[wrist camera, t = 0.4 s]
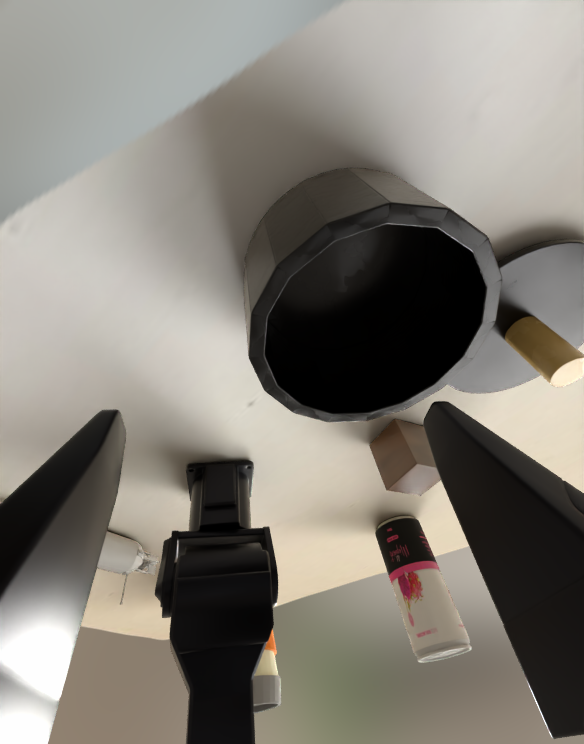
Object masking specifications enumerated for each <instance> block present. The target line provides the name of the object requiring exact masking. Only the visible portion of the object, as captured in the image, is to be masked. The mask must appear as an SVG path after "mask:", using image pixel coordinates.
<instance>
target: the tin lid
mask: <svg viewBox="0 0 584 744" xmlns="http://www.w3.org/2000/svg"><path fill="white" fill-rule="evenodd" d="M498 266H499V269H500V271H501V274H502V277H503V278H502V286H501V292H500V298H499V304H498V310H497V316H496V320H495V323H494V325H493V327H492V328H491V330H490V332H489V333H488V335H487V337H486V338H485V340H484V342H483V343H482V345H481V347H480V348H479V350H478V352H477V354H476V355H475V357H474V358H473V360H472V361H471V362H470V363H469V364H468V365H467V366H465V367H464V368H463V369H462V370H461V371H460V372H459V373H458V374H457V375H456V376H455V377H454V378H453V379H452V380H451V381H450V382H448V383H447V384H448V385H449V386H450V387H452V388H454V389H456V390H459V391H463V392H468V393H491V392H497V391H502V390H506V389H509V388H512V387H515V386H518V385H521V384H523V383H526V382H528V381H530V380H532V379H534V378H536V377H538V376H540V375H542V376H543V377H544V378H545V379H546V380H547V381H548V382H549V383H550V384H551V385H552V386H554V387H563V386H567V385H570V384H572V383H574V382H576V381H577V380H579V379H580V378H582V377H583V376H584V354H582V353H581V352H580V351H579V350H577V349H578V348H579V347H580V346H581V345H582V344H583V343H584V241H581V240H576V239H560V240H553V241H547V242H543V243H539V244H535V245H533V246H530V247H527V248H525V249H522V250H520V251H518V252H516V253H514V254H512V255H510V256H508V257H506V258H504V259H503V260H501V261H499V262H498Z"/></svg>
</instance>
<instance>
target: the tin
mask: <svg viewBox="0 0 584 744" xmlns="http://www.w3.org/2000/svg"><path fill="white" fill-rule="evenodd" d="M502 278H503V277H502V274H501V271H500V269H499V266H498V263H497V260H496V257H495V254H494V252H493V249H492V246H491V243H490V240H489V238H488V237H487V235H485V234H484V233H483V232H481V231H480V230H479V229H477V228H476V227H475V226H473V225H472V224H470V223H469V222H468V221H466V220H465V219H464V218H462V217H461V216H460V215H458V214H457V213H455V212H454V211H453V210H451V209H450V208H448V207H447V206H445V205H443V204H442V203H440V202H438V201H437V200H435V199H433V198H432V197H430V196H428V195H427V194H425V193H423V192H422V191H420V190H418V189H417V188H415V187H413V186H412V185H410V184H408V183H407V182H405V181H403V180H402V179H400V178H398V177H397V176H395V175H393V174H391V173H387V172H381V171H376V170H371V169H366V168H344V169H336V170H332V171H329V172H325V173H321V174H319V175H316V176H314V177H312V178H309V179H307V180H305V181H304V182H302V183H300V184H299V185H297V186H295V187H294V188H292V189H291V190H290V191H288V192H287V193H286V194H285V195H283V196H282V197H281V198H280V199H279V200H278V201H277V202H276V203H275V204H274V205H273V206H272V207H271V208H270V209H269V211H268V212H267V213H266V215H265V216H264V217H263V219H262V220H261V221H260V223H259V225H258V227H257V229H256V231H255V232H254V234H253V237H252V239H251V242H250V244H249V247H248V251H247V253H246V257H245V268H244V304H245V317H246V330H247V343H248V356H249V359H250V362H251V364H252V366H253V368H254V370H255V372H256V374H257V376H258V378H259V380H260V382H261V384H262V387H263V389H264V390H265V391H266V392H267V393H268V394H269V395H271V396H272V397H273V398H275V399H276V400H277V401H279V402H280V403H281V404H283V405H284V406H285V407H286V408H288V409H289V410H290V411H292V412H293V413H296V414H300V415H303V416H307V417H310V418H314V419H318V420H321V421H325V422H351V421H368V420H371V419H375V418H378V417H382V416H385V415H389V414H392V413H395V412H399V411H402V410H404V409H407V408H409V407H410V406H412V405H414V404H416V403H417V402H419V401H421V400H423V399H425V398H426V397H428V396H430V395H432V394H433V393H435V392H437V391H439V390H440V389H442V388H443V387H444V386H445V385H446V384H447V383H448V382H450V381H451V380H452V379H453V378H454V377H455V376H456V375H457V374H458V373H459V372H460V371H461V370H462V369H463V368H464V367H465V366H467V365H468V364H469V363H470V362H471V361H472V360H473V358H474V357H475V355H476V354H477V352H478V350H479V348H480V347H481V345H482V343H483V342H484V340H485V338H486V337H487V335H488V333H489V332H490V330H491V328H492V327H493V325H494V323H495V320H496V316H497V310H498V304H499V298H500V292H501V286H502Z"/></svg>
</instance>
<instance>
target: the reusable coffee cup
mask: <svg viewBox="0 0 584 744" xmlns="http://www.w3.org/2000/svg"><path fill="white" fill-rule="evenodd" d="M276 653H277V651H276V646H275V640H274V635H273V630H272V632H271V635H270V638H269V640H268V642H267V644H266V647H265V649H264V652H263V655H262V657H261V660H260V662H259V665H258V668H257V670H256V673H255V676H254V678H253V702H254V713H258V712H262V711H265V710H269V709H272V708H275V707H277V706H280V705H281V677H280V676H278V672H277V667H276V661H275V655H276Z"/></svg>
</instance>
